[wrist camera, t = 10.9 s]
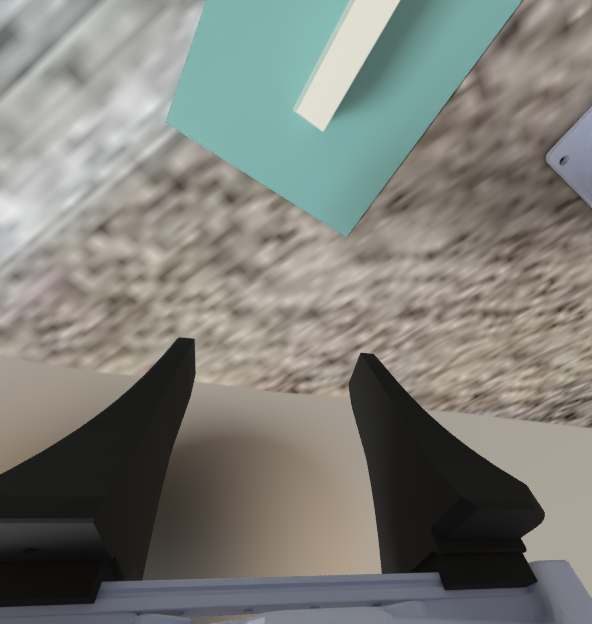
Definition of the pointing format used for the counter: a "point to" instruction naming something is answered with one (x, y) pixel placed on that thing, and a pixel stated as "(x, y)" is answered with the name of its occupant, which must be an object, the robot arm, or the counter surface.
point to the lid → (326, 89)
